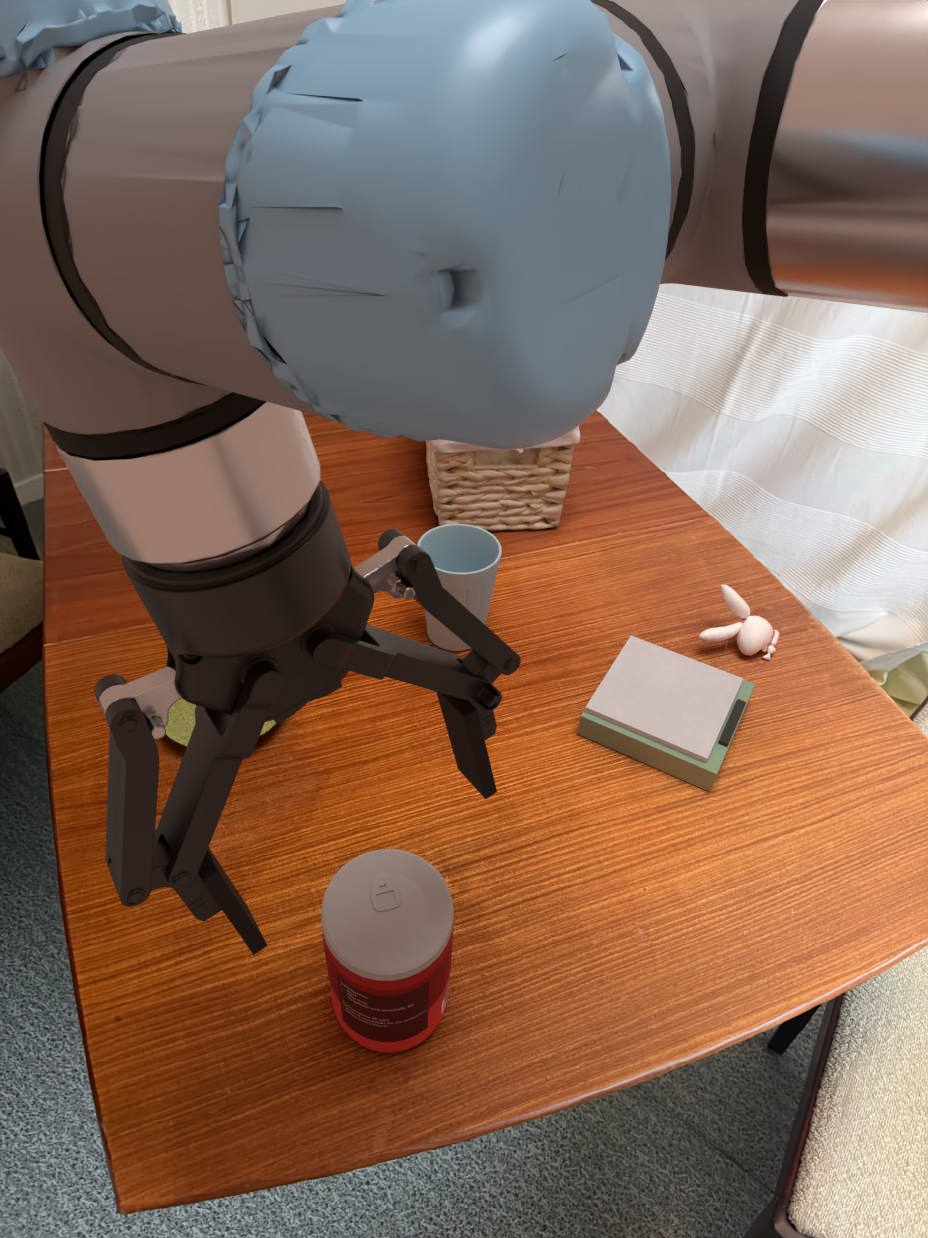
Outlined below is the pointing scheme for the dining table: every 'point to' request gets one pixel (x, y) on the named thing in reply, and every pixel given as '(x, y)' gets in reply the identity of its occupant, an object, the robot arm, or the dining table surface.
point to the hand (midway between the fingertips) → (369, 851)
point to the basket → (500, 483)
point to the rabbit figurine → (743, 628)
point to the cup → (462, 573)
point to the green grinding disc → (189, 722)
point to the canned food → (388, 948)
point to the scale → (667, 711)
